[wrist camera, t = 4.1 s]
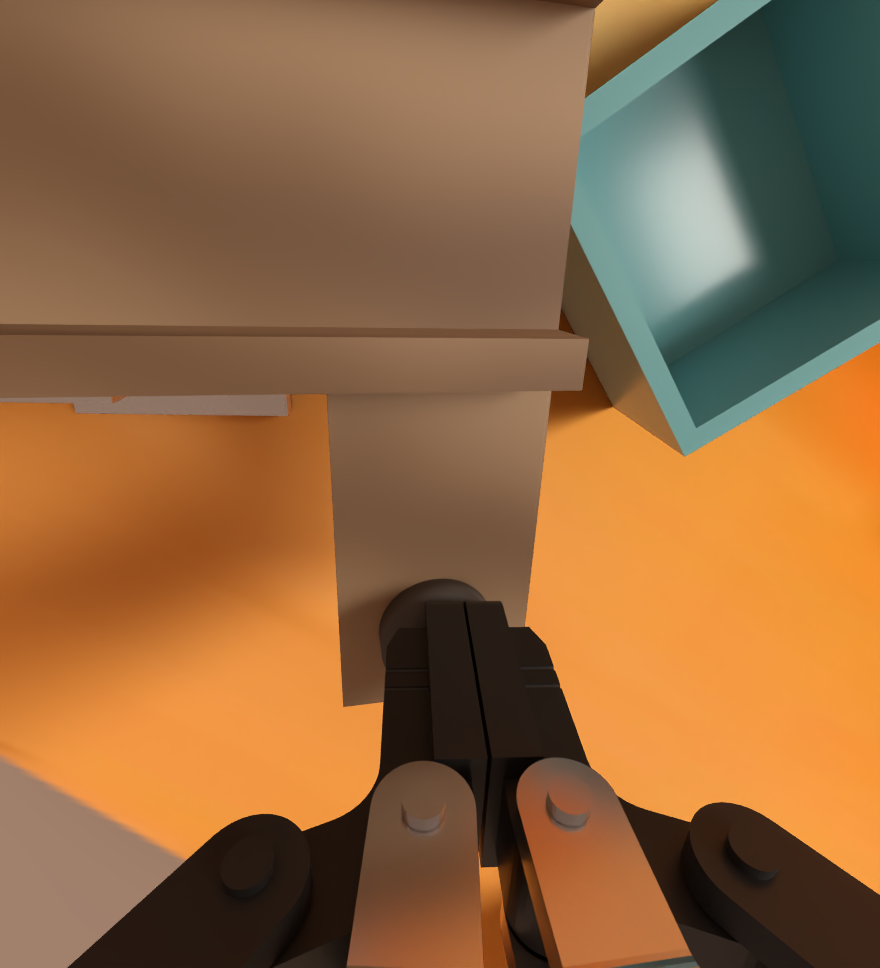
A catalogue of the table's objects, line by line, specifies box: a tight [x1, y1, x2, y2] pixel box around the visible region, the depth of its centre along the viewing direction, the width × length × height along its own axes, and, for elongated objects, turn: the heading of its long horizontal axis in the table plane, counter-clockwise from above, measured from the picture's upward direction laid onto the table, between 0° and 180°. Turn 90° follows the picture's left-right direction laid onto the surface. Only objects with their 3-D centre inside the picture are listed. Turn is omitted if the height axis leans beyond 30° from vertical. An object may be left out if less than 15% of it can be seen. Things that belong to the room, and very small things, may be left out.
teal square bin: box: [561, 0, 880, 456], centre depth 13 cm, size 8×8×5 cm
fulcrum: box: [0, 394, 292, 416], centre depth 10 cm, size 11×6×8 cm, turn 178°
